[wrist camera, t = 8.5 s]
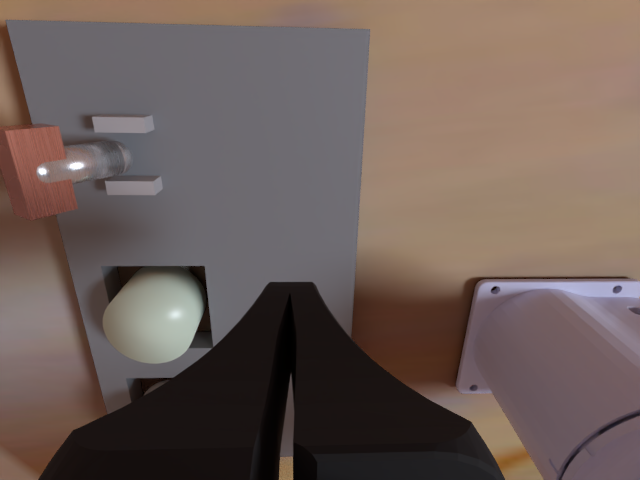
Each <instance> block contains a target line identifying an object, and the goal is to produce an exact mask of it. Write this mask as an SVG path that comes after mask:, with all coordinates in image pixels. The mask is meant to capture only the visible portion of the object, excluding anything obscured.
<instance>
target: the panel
mask: <svg viewBox="0 0 640 480" xmlns="http://www.w3.org/2000/svg"><path fill="white" fill-rule="evenodd" d="M6 24H7V28H8V32H9V36H10V40H11V43H12V47H13V51H14V55H15V59H16V63H17V67H18V71H19V74H20V78H21V82H22V86H23V90H24V94H25V98H26V101H27V105H28V109H29V113H30V117H31V121H32V124H39V123H42V124H49V125H55V126H59V129H60V134H61V138H62V142H63V146H70V145H78V144H86V143H93V142H101V141H109V140H114V141H119V142H121V143H123V144H125V145H126V146H127V147H128V148H129V149H130V151H131V153H132V156H133V163H132V166H131V168H130V169H129V170H128V171H127V172H125V173H124V174H121V175H116V176H111V177H106V178H102V179H97V180H92V181H87V182H82V183H77V184H72V185H73V189H74V194H75V198H76V202H77V206H78V209H75V210H71V211H67V212H63V213H59V214H56V217H57V221H58V225H59V229H60V233H61V237H62V241H63V244H64V248H65V252H66V256H67V260H68V264H69V268H70V272H71V275H72V279H73V283H74V287H75V291H76V295H77V299H78V302H79V306H80V310H81V314H82V318H83V322H84V326H85V330H86V333H87V337H88V341H89V345H90V349H91V353H92V357H93V360H94V364H95V368H96V372H97V376H98V380H99V384H100V388H101V391H102V395H103V399H104V403H105V407H106V411H107V414H110V413H112V412H114V411H116V410H118V409H120V408H122V407H124V406H126V405H128V404H130V403H131V402H133V401H135V400H137V399H139V398H140V397H142V396H144V395H143V391H142V386H141V381H140V378H173V377H175V376H176V375H178V374H179V373H181V372H182V371H183V370H185V369H186V368H188V367H189V366H190V365H192V364H193V363H195V362H196V361H198V360H199V359H200V358H201V357H203V356H204V355H205V354H206V353H207V352H208V351H210V350H211V349H212V348H213V347H214V346H215V345H216V344H217V343H218V342H219V341H220V340H222V339H223V338H224V337H225V336H226V334H227V333H228V332H229V331H230V330H231V329H232V328H233V327H234V326H235V325H236V324H237V323H238V322H239V321H240V320H241V318H242V317H243V316H244V315H245V314H246V312H247V311H248V310H249V309H250V307H251V306H252V305H253V304H254V302H255V301H256V300H257V298H258V297H259V295H260V294H261V293H262V291H263V290H264V288H265V286H266V285H267V284H268V283H269V282H313V283H314V284H315V285H316V286H317V289H318V291H319V293H320V295H321V297H322V299H323V300H324V302H325V304H326V305H327V307H328V309H329V310H330V312H331V313H332V314H333V316H334V317H335V319H336V320H337V321H338V323H339V324H340V325H341V327H342V328H343V329H344V330H345V332H346V333H347V334H348V335H349V336H350V337H351V334H352V318H353V302H354V285H355V269H356V252H357V236H358V220H359V203H360V187H361V171H362V154H363V138H364V122H365V105H366V89H367V73H368V56H369V40H370V29H337V28H299V27H261V26H222V25H184V24H146V23H108V22H70V21H31V20H6ZM117 266H205V274H206V284H207V293H208V302H209V312H210V321H211V330H212V331H211V332H196V333H195V335H194V338H193V340H192V342H191V344H190V346H189V348H188V349H187V351H186V352H185V353H184V354H182V355H181V356H180V357H178V358H176V359H174V360H172V361H169V362H165V363H158V364H150V363H143V362H139V361H136V360H133V359H130V358H128V357H126V356H125V355H123V354H121V353H120V352H119V351H117V350H116V349H115V348H114V347H113V346H112V344H111V343H110V342H109V340H108V339H107V337H106V335H105V332H104V329H103V315H104V312H105V310H106V308H107V306H108V305H109V304H110V302H111V301H112V300H113V299H114V298H115V296H116V295H117V294H118V293H119V292H120V290H121V289H122V288H121V283H120V279H119V274H118V269H117ZM293 432H294V402H293V390H292V377H291V376H290V383H289V391H288V398H287V405H286V412H285V420H284V427H283V434H282V441H281V451H280V457H286V456H293Z"/></svg>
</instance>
